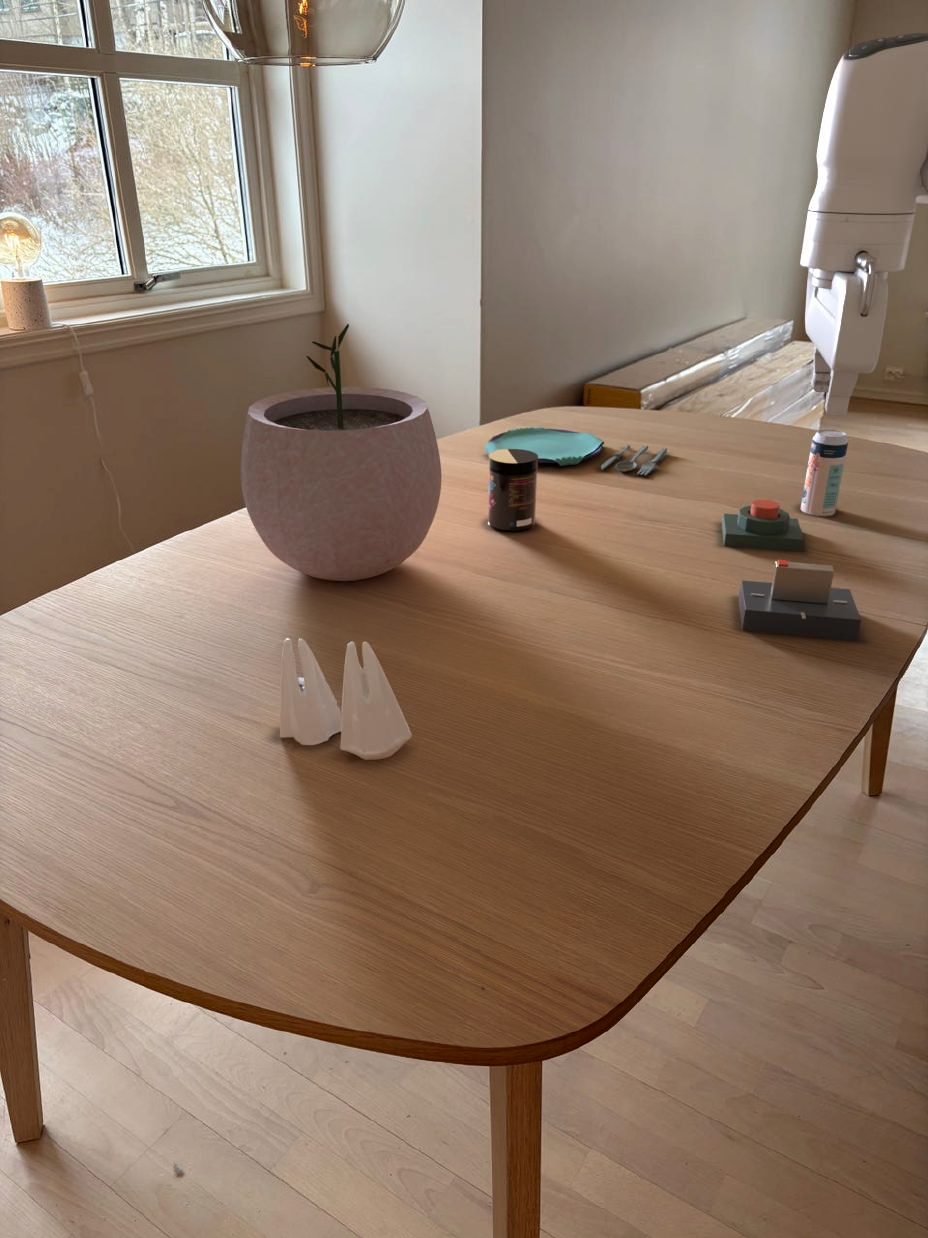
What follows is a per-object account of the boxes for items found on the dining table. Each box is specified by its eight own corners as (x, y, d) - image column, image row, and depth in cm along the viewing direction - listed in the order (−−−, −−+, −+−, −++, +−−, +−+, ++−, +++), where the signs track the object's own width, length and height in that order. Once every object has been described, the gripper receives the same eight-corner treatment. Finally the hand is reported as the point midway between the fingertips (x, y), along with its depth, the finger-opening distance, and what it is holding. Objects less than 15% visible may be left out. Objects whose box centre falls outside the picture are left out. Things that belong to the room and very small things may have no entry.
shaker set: (415, 752, 84) (412, 641, 79) (391, 777, 81) (387, 663, 76) (303, 719, 89) (294, 613, 84) (276, 741, 86) (265, 632, 81)
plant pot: (329, 523, 135) (315, 303, 122) (476, 556, 124) (478, 319, 111) (210, 583, 116) (178, 331, 103) (370, 628, 106) (358, 353, 92)
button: (776, 512, 129) (778, 500, 128) (778, 521, 126) (780, 509, 125) (749, 510, 130) (750, 498, 129) (750, 519, 127) (752, 507, 126)
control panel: (843, 608, 111) (848, 583, 109) (857, 649, 102) (863, 622, 100) (737, 599, 113) (740, 575, 111) (742, 638, 104) (746, 612, 103)
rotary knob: (825, 598, 106) (832, 563, 104) (827, 604, 105) (834, 568, 103) (770, 593, 107) (775, 558, 105) (771, 599, 106) (777, 564, 104)
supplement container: (514, 515, 138) (516, 445, 134) (545, 529, 133) (548, 457, 129) (477, 525, 134) (478, 454, 130) (508, 540, 130) (510, 466, 125)
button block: (795, 533, 132) (799, 506, 130) (801, 555, 125) (806, 526, 123) (721, 527, 134) (724, 501, 132) (723, 549, 127) (727, 520, 125)
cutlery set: (514, 433, 178) (515, 421, 177) (672, 454, 166) (674, 441, 165) (468, 461, 162) (468, 448, 161) (639, 487, 150) (641, 473, 149)
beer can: (806, 505, 142) (819, 426, 137) (838, 512, 140) (853, 432, 135) (795, 514, 139) (809, 434, 134) (828, 521, 136) (844, 439, 131)
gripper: (918, 259, 75) (883, 432, 81) (871, 238, 93) (845, 380, 99) (834, 257, 76) (806, 428, 82) (804, 236, 94) (783, 377, 100)
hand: (827, 401), depth 91 cm, fingers open, 8 cm apart
